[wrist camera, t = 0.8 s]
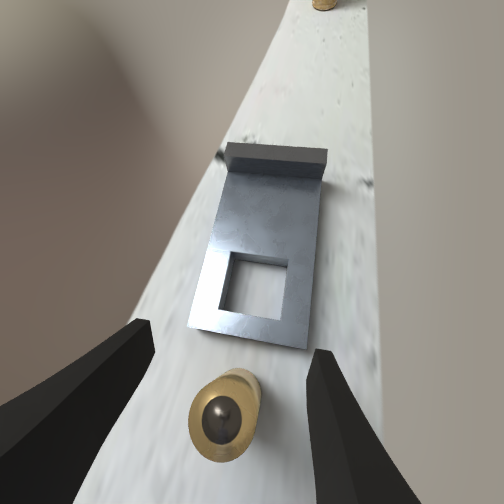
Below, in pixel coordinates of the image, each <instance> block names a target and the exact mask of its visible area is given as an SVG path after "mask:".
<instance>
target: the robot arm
mask: <svg viewBox="0 0 504 504" xmlns="http://www.w3.org/2000/svg"><path fill="white" fill-rule="evenodd" d="M154 354H155V348H154V342H153V337H152V331H151V325H150V320H144V319H138V318H136V319H135V320H133V321H132V322H130V323H129V324H128V325H126V326H125V327H123V328H122V329H121V330H119V331H118V332H117V333H115V334H114V335H112V336H111V337H109V338H108V339H107V340H105V341H104V342H102V343H101V344H100V345H98V346H97V347H95V348H94V349H92V350H91V351H89V352H88V353H87V354H85V355H84V356H82V357H81V358H79V359H78V360H76V361H74V362H73V363H72V364H70V365H68V366H67V367H65V368H64V369H62V370H61V371H59V372H58V373H56V374H54V375H53V376H51V377H50V378H48V379H46V380H45V381H43V382H42V383H40V384H38V385H36V386H35V387H33V388H31V389H30V390H28V391H26V392H24V393H23V394H21V395H19V396H18V397H16V398H14V399H12V400H10V401H9V402H7V403H5V404H3V405H1V406H0V504H73V501H74V499H75V497H76V495H77V493H78V491H79V489H80V487H81V485H82V483H83V481H84V479H85V477H86V475H87V473H88V471H89V469H90V467H91V466H92V464H93V462H94V460H95V458H96V456H97V454H98V452H99V450H100V448H101V446H102V444H103V443H104V441H105V439H106V438H107V436H108V434H109V432H110V431H111V429H112V427H113V426H114V424H115V423H116V421H117V419H118V418H119V416H120V414H121V413H122V411H123V410H124V408H125V406H126V405H127V403H128V402H129V400H130V398H131V397H132V395H133V393H134V392H135V390H136V389H137V387H138V385H139V384H140V382H141V380H142V379H143V377H144V375H145V373H146V371H147V369H148V367H149V365H150V363H151V360H152V358H153V356H154ZM306 397H307V414H308V423H309V432H310V441H311V449H312V458H313V466H314V475H315V486H316V500H317V504H421V502H420V501H419V500H418V498H417V497H416V495H415V494H414V493H413V491H412V490H411V488H410V487H409V485H408V484H407V482H406V481H405V479H404V478H403V476H402V475H401V473H400V472H399V470H398V469H397V467H396V466H395V464H394V463H393V461H392V460H391V458H390V457H389V455H388V453H387V452H386V450H385V449H384V447H383V445H382V444H381V442H380V440H379V439H378V437H377V436H376V434H375V432H374V431H373V429H372V427H371V426H370V424H369V422H368V420H367V419H366V417H365V415H364V413H363V412H362V410H361V408H360V406H359V404H358V403H357V401H356V399H355V397H354V395H353V393H352V392H351V390H350V388H349V386H348V384H347V382H346V380H345V378H344V376H343V374H342V372H341V370H340V368H339V366H338V364H337V361H336V359H335V357H334V355H333V353H332V352H331V351H328V350H322V349H315V352H314V356H313V359H312V362H311V366H310V369H309V372H308V376H307V379H306Z"/></svg>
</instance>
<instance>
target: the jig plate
mask: <svg viewBox="0 0 504 504" xmlns="http://www.w3.org/2000/svg"><path fill="white" fill-rule="evenodd" d="M327 151H328V149H322V148H307V147H292V146H277V145H263V144H248V143H233V142H227V146H226V150H225V153H224V159H225V163H226V166H227V170H228V173H227V177H226V181H225V184H224V188H223V192H222V196H221V200H220V203H219V207H218V211H217V215H216V219H215V222H214V226H213V230H212V234H211V238H210V241H209V245H208V249H207V253H206V256H205V260H204V264H203V268H202V272H201V275H200V279H199V283H198V287H197V291H196V294H195V298H194V302H193V306H192V310H191V313H190V317H189V321H188V325H187V327H192V328H197V329H202V330H207V331H212V332H218V333H223V334H228V335H233V336H238V337H243V338H249V339H254V340H259V341H264V342H269V343H275V344H280V345H285V346H290V347H295V348H301V349H306V350H307V340H308V329H309V318H310V306H311V295H312V284H313V272H314V261H315V250H316V238H317V227H318V216H319V204H320V193H321V181H322V177H323V174H324V170H325V167H326V163H327ZM234 259H238V260H245V261H252V262H259V263H266V264H273V265H280V266H287V273H286V281H285V289H284V296H283V304H282V312H281V319H280V321H279V320H274V319H268V318H262V317H257V316H251V315H246V314H240V313H234V312H229V311H223V310H224V305H225V301H226V296H227V292H228V287H229V282H230V278H231V273H232V268H233V264H234Z"/></svg>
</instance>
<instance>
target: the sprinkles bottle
mask: <svg viewBox="0 0 504 504" xmlns="http://www.w3.org/2000/svg"><path fill="white" fill-rule="evenodd" d="M336 3H337V0H313V1H312V4H313V7H314V8H316V9H319V10H328V9H331V8H333V7H334V6H335V5H336Z"/></svg>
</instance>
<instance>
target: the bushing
mask: <svg viewBox="0 0 504 504" xmlns="http://www.w3.org/2000/svg"><path fill="white" fill-rule="evenodd" d="M260 403H261V388H260V385H259V382H258V381H257V379H256V377H255V376H254V375H253V374H252V373H251V372H249V371H247V370H245V369H241V368H235V369H231V370H229V371H227V372H225V373H224V374H222V375H221V376H219V377H218V378H216V379H215V380H214V381H212V382H211V383H209V384H208V385H206V386H205V387H204V388H202V389H201V390H200V391H199V393H198V394H197V395H196V397H195V398H194V400H193V402H192V405H191V408H190V411H189V418H188V427H189V433H190V437H191V440H192V442H193V444H194V446H195V447H196V449H197V450H198V451H199V453H200V454H201V455H203V456H204V457H205V458H207V459H209V460H211V461H214V462H229V461H232V460H234V459H236V458H238V457H239V456H240V455H242V454H243V453H244V452H245V450H246V449H247V448H248V446H249V445H250V443H251V441H252V439H253V436H254V433H255V428H256V423H257V418H258V413H259V408H260Z"/></svg>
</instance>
